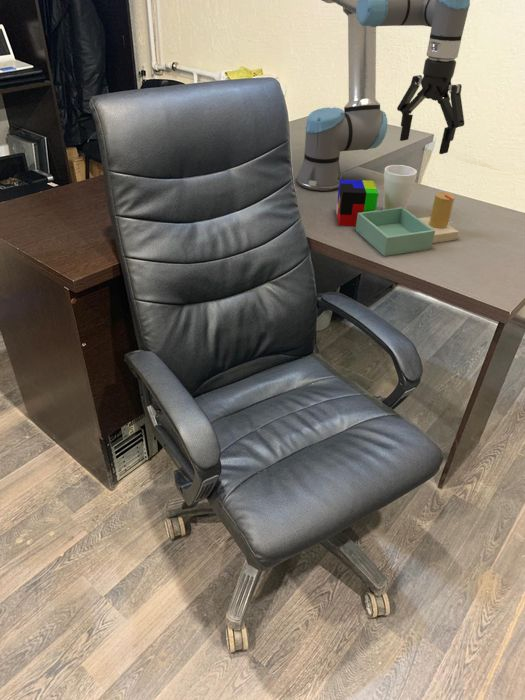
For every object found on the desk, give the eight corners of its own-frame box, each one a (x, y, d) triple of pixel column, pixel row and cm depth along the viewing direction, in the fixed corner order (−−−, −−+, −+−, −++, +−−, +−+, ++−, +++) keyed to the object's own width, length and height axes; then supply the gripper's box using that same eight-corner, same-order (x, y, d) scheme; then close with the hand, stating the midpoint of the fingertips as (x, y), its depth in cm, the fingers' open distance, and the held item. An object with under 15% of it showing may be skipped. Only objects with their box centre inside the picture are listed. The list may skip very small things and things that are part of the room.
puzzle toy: (336, 211, 162) (339, 179, 156) (368, 212, 162) (373, 180, 155) (338, 225, 154) (342, 192, 148) (372, 226, 154) (378, 193, 148)
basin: (355, 230, 151) (357, 212, 148) (399, 224, 155) (402, 207, 152) (384, 256, 139) (387, 237, 136) (431, 248, 143) (435, 230, 140)
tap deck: (410, 227, 154) (412, 218, 152) (439, 223, 157) (441, 214, 155) (432, 243, 146) (434, 234, 144) (461, 238, 148) (463, 230, 147)
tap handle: (425, 221, 151) (431, 192, 146) (440, 219, 152) (447, 190, 147) (435, 229, 147) (442, 199, 142) (451, 227, 148) (459, 197, 143)
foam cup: (408, 219, 158) (417, 177, 150) (377, 216, 159) (384, 174, 151) (408, 207, 165) (416, 166, 157) (378, 204, 167) (385, 163, 159)
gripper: (393, 52, 136) (379, 136, 149) (474, 68, 121) (452, 161, 134) (412, 49, 140) (397, 132, 153) (493, 65, 124) (470, 156, 137)
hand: (423, 146), depth 143 cm, fingers open, 13 cm apart
